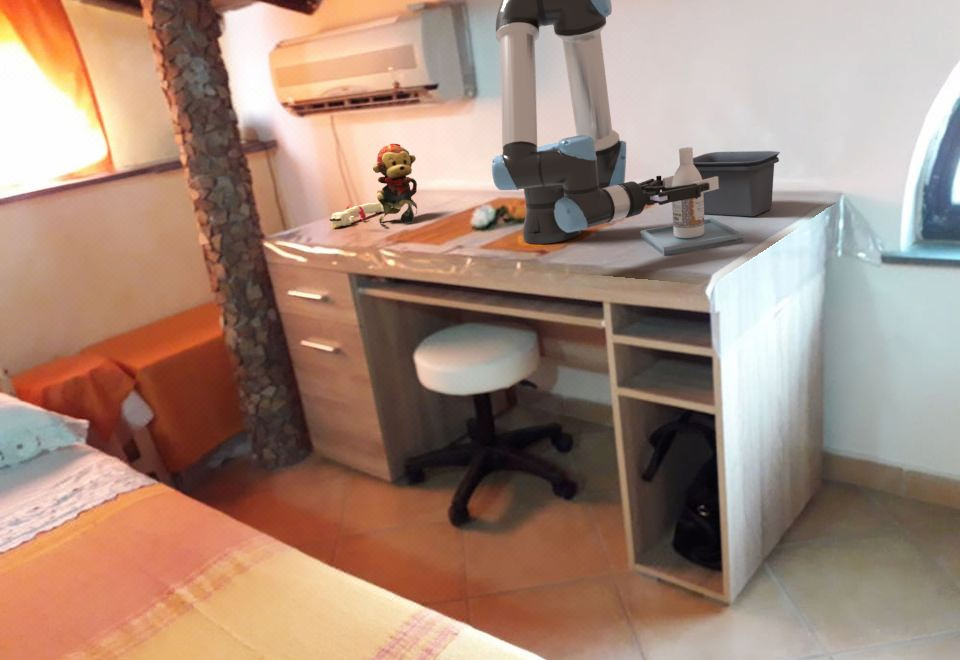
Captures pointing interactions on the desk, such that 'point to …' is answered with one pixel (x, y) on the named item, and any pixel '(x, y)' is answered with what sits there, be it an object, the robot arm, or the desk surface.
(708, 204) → the storage bin
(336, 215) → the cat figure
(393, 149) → the stuffed monkey
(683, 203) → the bath foam
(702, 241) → the tray
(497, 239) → the desk surface
